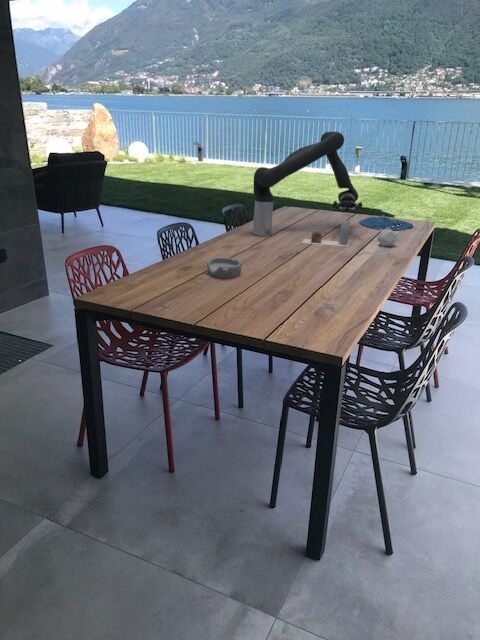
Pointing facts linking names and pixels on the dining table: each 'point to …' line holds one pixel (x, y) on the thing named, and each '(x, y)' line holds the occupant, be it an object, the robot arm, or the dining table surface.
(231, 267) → the dish
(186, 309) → the dining table surface
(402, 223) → the decorative plate
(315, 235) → the walnut block
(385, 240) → the die
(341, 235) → the grey post on base
